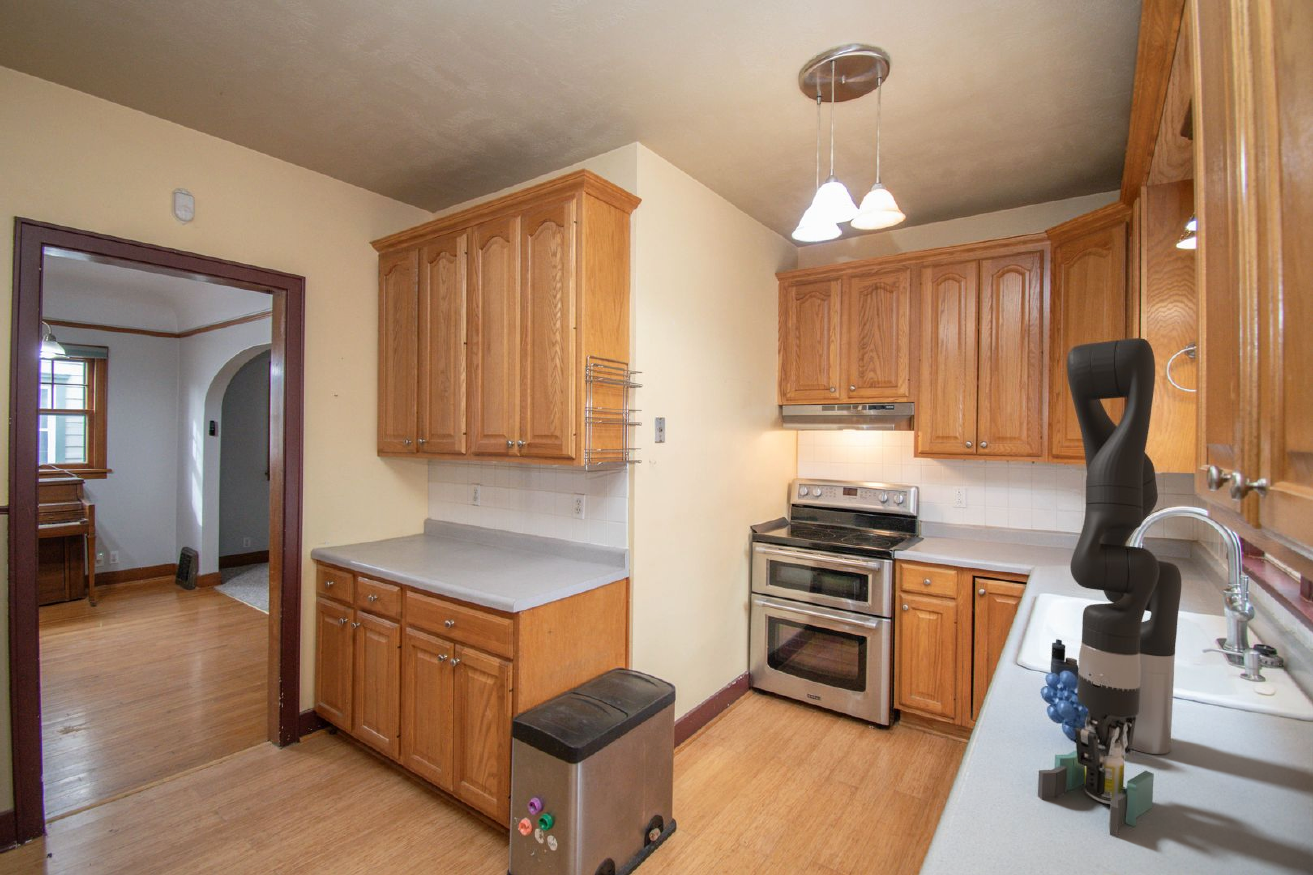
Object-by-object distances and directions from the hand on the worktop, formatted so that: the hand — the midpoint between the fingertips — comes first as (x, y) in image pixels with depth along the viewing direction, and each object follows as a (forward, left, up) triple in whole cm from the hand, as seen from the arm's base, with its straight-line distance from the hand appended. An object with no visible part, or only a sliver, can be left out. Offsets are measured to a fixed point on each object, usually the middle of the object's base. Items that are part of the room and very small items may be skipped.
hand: (1103, 786), depth 92 cm
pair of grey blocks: (+6, 0, -2) cm, 7 cm away
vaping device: (-34, -21, -2) cm, 40 cm away
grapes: (-15, -11, -2) cm, 19 cm away
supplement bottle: (0, 0, -2) cm, 2 cm away
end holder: (-1, 0, -2) cm, 2 cm away
